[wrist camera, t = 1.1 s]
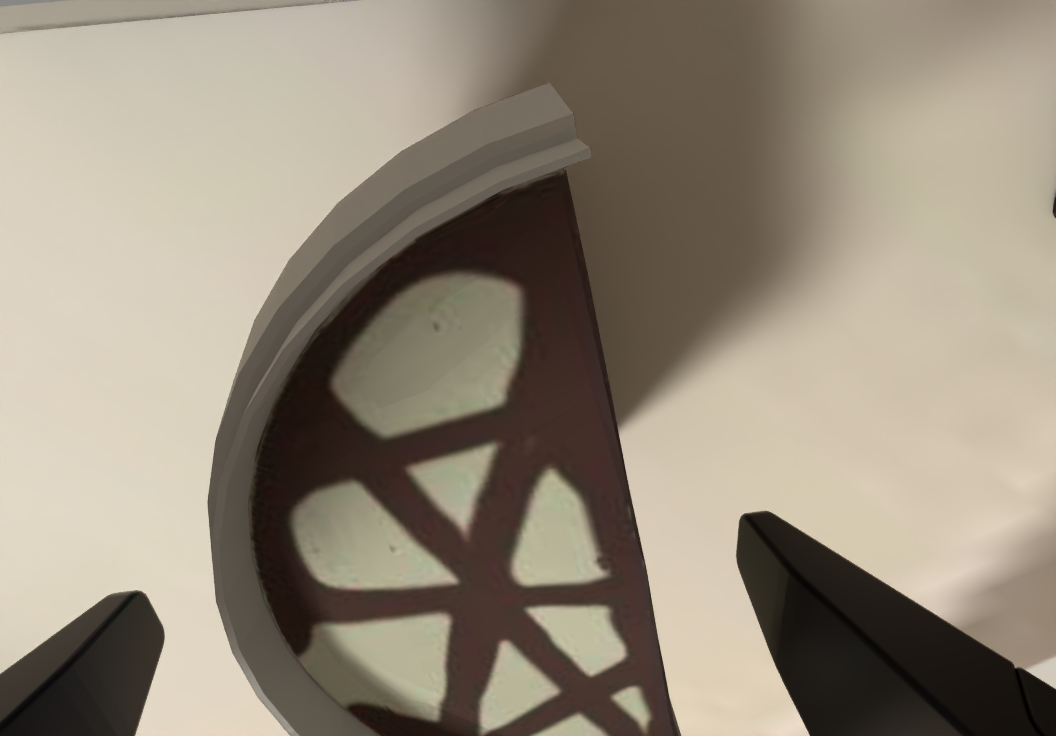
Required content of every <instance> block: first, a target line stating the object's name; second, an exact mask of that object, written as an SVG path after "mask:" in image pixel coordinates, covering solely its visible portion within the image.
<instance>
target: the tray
mask: <svg viewBox="0 0 1056 736" xmlns="http://www.w3.org/2000/svg"><path fill="white" fill-rule="evenodd" d="M344 1H355V0H0V34H1V33H11V32H22V31H33V30H44V29H54V28H65V27H76V26H86V25H97V24H108V23H119V22H129V21H140V20H151V19H161V18H172V17H183V16H194V15H204V14H215V13H226V12H237V11H247V10H258V9H269V8H279V7H290V6H301V5H312V4H322V3H333V2H344Z"/></svg>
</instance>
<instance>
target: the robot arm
mask: <svg viewBox="0 0 1056 736" xmlns="http://www.w3.org/2000/svg"><path fill="white" fill-rule="evenodd" d="M1053 214H1054V217H1055V218H1056V199H1055V202H1054V206H1053ZM736 558H737V564H738V568H739V571H740V574H741V577H742V579H743V582H744V585H745V587H746V590H747V593H748V595H749V598H750V601H751V603H752V606H753V608H754V611H755V614H756V616H757V619H758V622H759V624H760V627H761V630H762V632H763V635H764V638H765V640H766V643H767V646H768V648H769V651H770V653H771V656H772V658H773V661H774V663H775V666H776V668H777V670H778V672H779V674H780V676H781V678H782V681H783V683H784V685H785V687H786V689H787V691H788V693H789V695H790V697H791V699H792V701H793V703H794V705H795V707H796V709H797V711H798V713H799V715H800V717H801V719H802V721H803V723H804V725H805V727H806V729H807V731H808V733H809V735H810V736H1056V689H1055V688H1053V687H1051V686H1050V685H1048V684H1047V683H1045V682H1043V681H1042V680H1040V679H1039V678H1037V677H1035V676H1034V675H1032V674H1031V673H1029V672H1027V671H1026V670H1024V669H1023V668H1021V667H1016V668H1015V667H1014V664H1013V663H1012V662H1011V661H1009V660H1008V659H1006V658H1005V657H1003V656H1001V655H1000V654H998V653H997V652H995V651H993V650H992V649H990V648H988V647H987V646H985V645H984V644H982V643H980V642H979V641H977V640H976V639H974V638H972V637H971V636H969V635H968V634H966V633H964V632H963V631H961V630H960V629H958V628H956V627H955V626H953V625H952V624H950V623H948V622H947V621H945V620H944V619H942V618H940V617H939V616H937V615H935V614H934V613H932V612H931V611H929V610H927V609H926V608H924V607H923V606H921V605H919V604H918V603H916V602H915V601H913V600H911V599H910V598H908V597H907V596H905V595H903V594H902V593H900V592H899V591H897V590H895V589H894V588H892V587H891V586H889V585H887V584H886V583H884V582H883V581H881V580H879V579H878V578H876V577H874V576H873V575H871V574H870V573H868V572H866V571H865V570H863V569H862V568H860V567H858V566H857V565H855V564H854V563H852V562H850V561H849V560H847V559H846V558H844V557H842V556H841V555H839V554H838V553H836V552H834V551H833V550H831V549H830V548H828V547H826V546H825V545H823V544H821V543H820V542H818V541H817V540H815V539H813V538H812V537H810V536H809V535H807V534H805V533H804V532H802V531H801V530H799V529H797V528H796V527H794V526H793V525H791V524H789V523H788V522H786V521H785V520H783V519H781V518H780V517H778V516H777V515H775V514H773V513H771V512H769V511H759V512H751V513H745V514H743V515H742V516H741V518H740V520H739V529H738V540H737V551H736ZM164 638H165V634H164V628H163V626H162V623H161V622H160V620H159V618H158V616H157V614H156V612H155V610H154V608H153V606H152V604H151V603H150V601H149V599H148V597H147V595H146V594H145V593H143V592H142V591H138V590H135V591H127V592H119V593H114V594H111V595H108V596H107V597H105V598H104V599H102V600H101V601H100V602H98V603H97V604H96V605H94V606H93V607H91V608H90V609H89V610H87V611H86V612H85V613H83V614H82V615H80V616H79V617H78V618H76V619H75V620H74V621H72V622H71V623H69V624H68V625H67V626H65V627H64V628H63V629H61V630H60V631H59V632H57V633H56V634H54V635H53V636H52V637H50V638H49V639H48V640H46V641H45V642H43V643H42V644H41V645H39V646H38V647H37V648H35V649H34V650H33V651H31V652H30V653H28V654H27V655H26V656H24V657H23V658H22V659H20V660H19V661H17V662H16V663H15V664H13V665H12V666H11V667H9V668H8V669H7V670H5V671H4V672H2V673H1V674H0V736H135V734H136V731H137V728H138V725H139V722H140V718H141V715H142V712H143V709H144V706H145V702H146V699H147V696H148V693H149V690H150V687H151V683H152V680H153V677H154V674H155V671H156V668H157V664H158V661H159V658H160V655H161V652H162V648H163V645H164Z"/></svg>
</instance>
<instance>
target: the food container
mask: <svg viewBox="0 0 1056 736" xmlns="http://www.w3.org/2000/svg"><path fill="white" fill-rule="evenodd" d="M589 158H592V154H591V149H590V147H589V146H588V145H586V144H585V143H584V142H582V141H581V140H580V139H578V138H577V132H576V126H575V121H574V115H573V113H572V111H571V110H570V109H569V107H568V106H567V105H566V103H565V102H564V101H563V99H562V98H561V97H560V95H559V94H558V93H557V91H556V90H555V89H554V87H553V86H552V85H551V83H550V82H549V83H547V84H544V85H541V86H538V87H536V88H533V89H530V90H528V91H525V92H522V93H520V94H517V95H514V96H511V97H509V98H506V99H503V100H501V101H498V102H495V103H492V104H490V105H487V106H484V107H482V108H479V109H476V110H474V111H472V112H470V113H468V114H466V115H465V116H463V117H461V118H459V119H458V120H456V121H454V122H452V123H451V124H449V125H447V126H445V127H443V128H442V129H440V130H438V131H436V132H435V133H433V134H431V135H429V136H428V137H426V138H424V139H422V140H421V141H419V142H417V143H415V144H413V145H412V146H410V147H408V148H406V149H405V150H403V151H401V152H400V153H398V154H397V155H396V156H395V157H394V158H392V159H391V160H390V161H389V162H387V163H386V164H385V165H384V166H383V167H381V168H380V169H379V170H378V171H376V172H375V173H374V174H373V175H372V176H370V177H369V178H368V179H367V180H365V181H364V182H363V183H362V184H361V185H359V186H358V187H357V188H356V189H354V190H353V191H352V192H351V193H350V194H348V195H347V196H346V197H345V198H344V199H342V200H341V201H340V202H339V203H338V204H337V205H336V206H335V207H334V208H333V210H332V211H331V212H330V213H329V214H328V215H327V217H326V218H325V219H324V220H323V221H322V222H321V224H320V225H319V226H318V227H317V228H316V229H315V231H314V232H313V233H312V234H311V235H310V236H309V238H308V239H307V240H306V241H305V242H304V243H303V245H302V246H301V247H300V248H299V249H298V250H297V252H296V253H295V254H294V255H293V256H292V257H291V259H290V260H289V261H288V263H287V265H286V267H285V268H284V270H283V272H282V274H281V275H280V277H279V279H278V280H277V282H276V284H275V286H274V287H273V289H272V291H271V293H270V294H269V296H268V298H267V300H266V301H265V303H264V305H263V306H262V308H261V310H260V312H259V313H258V315H257V317H256V319H255V320H254V323H253V326H252V329H251V332H250V335H249V338H248V341H247V344H246V346H245V349H244V352H243V355H242V358H241V361H240V364H239V367H238V370H237V373H236V375H235V378H234V381H233V385H232V388H231V391H230V394H229V398H228V401H227V404H226V408H225V411H224V414H223V417H222V421H221V424H220V427H219V431H218V434H217V437H216V441H215V449H214V456H213V464H212V472H211V479H210V487H209V494H208V514H209V527H210V539H211V551H212V562H213V573H214V584H215V595H216V603H217V606H218V609H219V612H220V615H221V619H222V622H223V625H224V628H225V631H226V634H227V637H228V641H229V644H230V647H231V650H232V653H233V655H234V656H235V658H236V660H237V662H238V664H239V665H240V667H241V669H242V671H243V672H244V674H245V676H246V678H247V679H248V681H249V683H250V685H251V686H252V688H253V690H254V692H255V694H256V695H257V697H258V698H259V700H260V701H261V702H262V703H263V704H264V705H265V707H266V708H267V709H268V710H269V711H270V712H271V714H272V715H273V716H274V717H275V718H276V720H277V721H278V722H279V723H280V724H281V725H282V727H283V728H284V729H285V730H286V731H287V732H288V734H289V735H290V736H681V733H680V730H679V727H678V724H677V720H676V717H675V714H674V711H673V708H672V704H671V701H670V698H669V693H668V687H667V682H666V676H665V671H664V666H663V661H662V656H661V651H660V645H659V640H658V635H657V629H656V623H655V617H654V611H653V605H652V599H651V593H650V587H649V581H648V575H647V570H646V565H645V560H644V556H643V551H642V546H641V542H640V537H639V532H638V528H637V523H636V518H635V514H634V509H633V504H632V500H631V495H630V490H629V485H628V480H627V475H626V470H625V464H624V459H623V454H622V448H621V443H620V438H619V433H618V427H617V422H616V417H615V412H614V406H613V401H612V396H611V391H610V386H609V381H608V375H607V370H606V365H605V360H604V355H603V350H602V345H601V340H600V335H599V329H598V324H597V319H596V314H595V309H594V304H593V299H592V294H591V289H590V283H589V278H588V273H587V269H586V264H585V259H584V254H583V250H582V245H581V240H580V235H579V230H578V226H577V221H576V216H575V211H574V207H573V202H572V197H571V192H570V187H569V183H568V178H567V173H566V170H564V169H562V168H564V167H567V166H570V165H573V164H575V163H578V162H581V161H584V160H586V159H589Z"/></svg>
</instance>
